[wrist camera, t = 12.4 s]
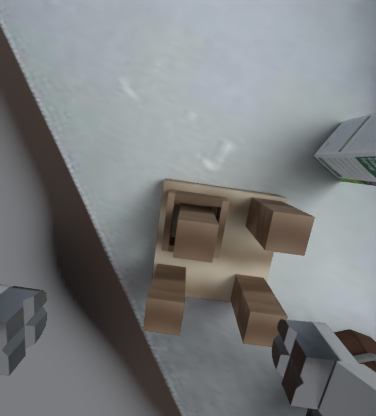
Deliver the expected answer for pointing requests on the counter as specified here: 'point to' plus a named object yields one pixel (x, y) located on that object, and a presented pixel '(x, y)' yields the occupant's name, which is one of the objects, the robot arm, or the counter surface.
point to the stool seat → (225, 258)
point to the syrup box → (352, 151)
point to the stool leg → (196, 233)
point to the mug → (355, 353)
